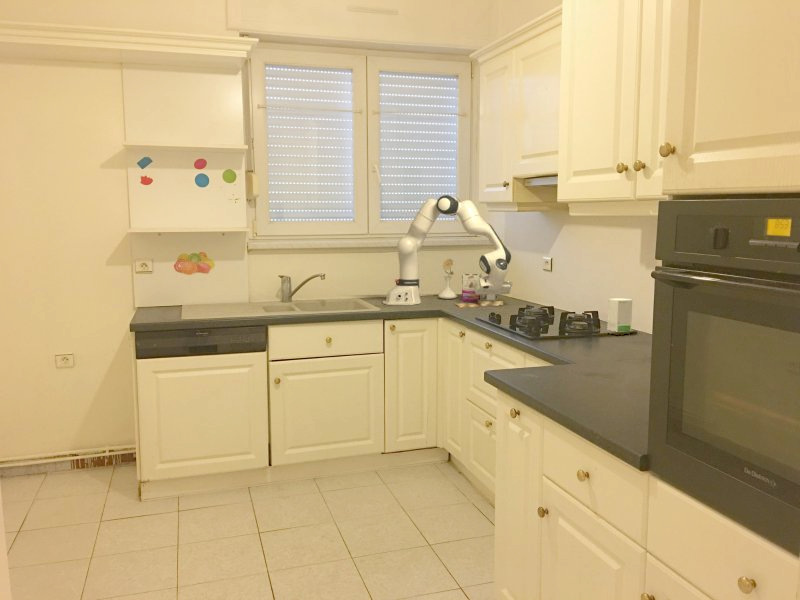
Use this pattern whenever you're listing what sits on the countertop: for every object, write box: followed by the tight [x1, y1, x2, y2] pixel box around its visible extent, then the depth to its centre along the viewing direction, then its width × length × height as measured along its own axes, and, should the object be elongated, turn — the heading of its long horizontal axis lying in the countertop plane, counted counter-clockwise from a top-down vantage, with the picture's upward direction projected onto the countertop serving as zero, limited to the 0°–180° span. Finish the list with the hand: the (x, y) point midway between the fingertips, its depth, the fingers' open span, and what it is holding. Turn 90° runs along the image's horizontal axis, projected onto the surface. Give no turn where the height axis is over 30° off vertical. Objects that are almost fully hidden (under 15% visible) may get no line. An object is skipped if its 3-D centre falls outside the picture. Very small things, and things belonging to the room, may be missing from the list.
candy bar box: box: [461, 273, 483, 302], centre depth 399 cm, size 11×5×16 cm, turn 73°
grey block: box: [484, 294, 496, 301], centre depth 382 cm, size 5×2×8 cm, turn 99°
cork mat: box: [454, 302, 481, 308], centre depth 379 cm, size 12×12×1 cm
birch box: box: [477, 299, 504, 307], centre depth 382 cm, size 13×7×2 cm, turn 98°
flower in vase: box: [438, 258, 458, 300], centre depth 408 cm, size 13×11×25 cm
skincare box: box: [606, 297, 633, 332], centre depth 289 cm, size 8×7×16 cm
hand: (490, 297), depth 383 cm, fingers closed on grey block, 5 cm apart
